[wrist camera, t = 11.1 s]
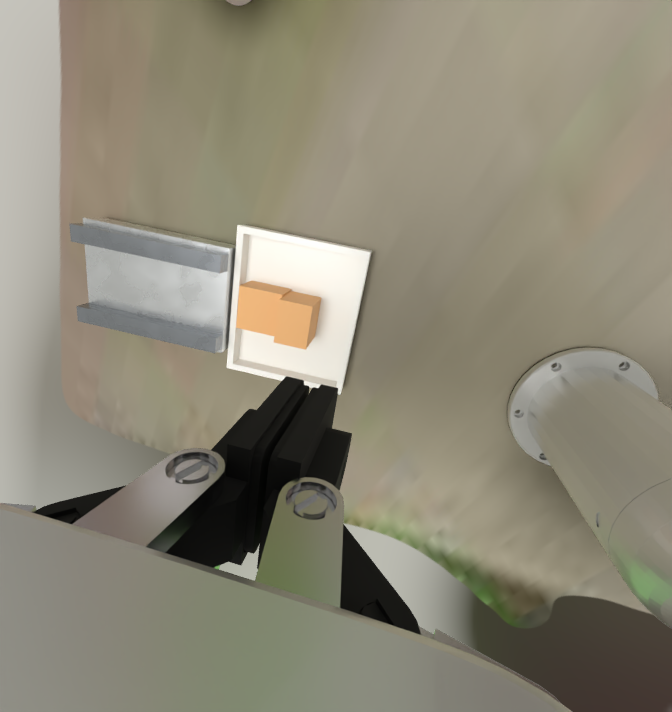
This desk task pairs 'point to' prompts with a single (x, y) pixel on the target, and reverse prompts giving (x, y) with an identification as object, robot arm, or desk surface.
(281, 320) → the orange square block
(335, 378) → the tray
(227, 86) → the desk surface
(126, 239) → the slot block
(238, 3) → the smoothie
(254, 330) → the chip
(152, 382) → the desk surface
